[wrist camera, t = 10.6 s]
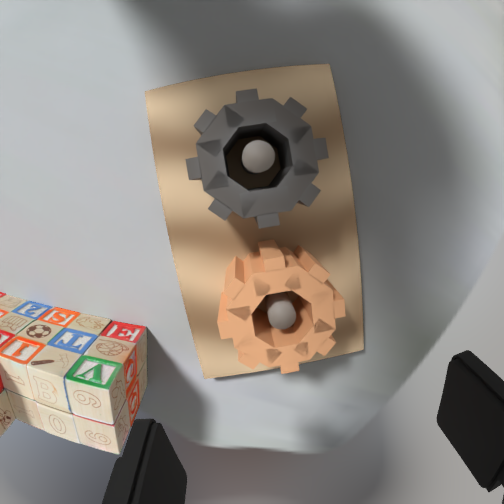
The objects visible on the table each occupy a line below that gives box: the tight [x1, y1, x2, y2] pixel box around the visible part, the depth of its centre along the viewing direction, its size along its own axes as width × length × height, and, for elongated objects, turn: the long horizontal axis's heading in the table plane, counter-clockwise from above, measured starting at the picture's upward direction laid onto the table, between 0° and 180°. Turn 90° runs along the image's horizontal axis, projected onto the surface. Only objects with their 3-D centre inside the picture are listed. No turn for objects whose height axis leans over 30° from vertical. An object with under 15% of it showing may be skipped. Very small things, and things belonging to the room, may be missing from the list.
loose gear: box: [217, 239, 346, 374], centre depth 20 cm, size 7×7×5 cm
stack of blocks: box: [0, 292, 147, 454], centre depth 19 cm, size 21×6×12 cm, turn 82°
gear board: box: [145, 64, 364, 379], centre depth 20 cm, size 22×13×7 cm, turn 9°
